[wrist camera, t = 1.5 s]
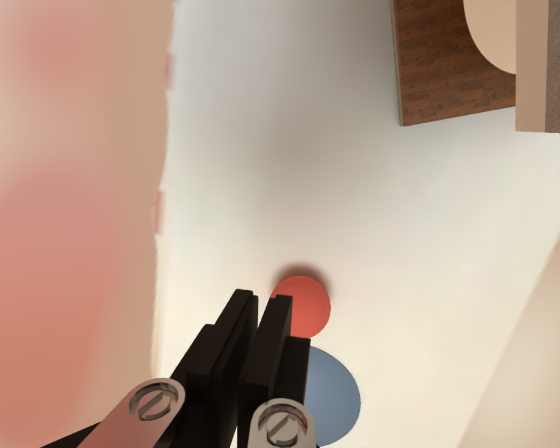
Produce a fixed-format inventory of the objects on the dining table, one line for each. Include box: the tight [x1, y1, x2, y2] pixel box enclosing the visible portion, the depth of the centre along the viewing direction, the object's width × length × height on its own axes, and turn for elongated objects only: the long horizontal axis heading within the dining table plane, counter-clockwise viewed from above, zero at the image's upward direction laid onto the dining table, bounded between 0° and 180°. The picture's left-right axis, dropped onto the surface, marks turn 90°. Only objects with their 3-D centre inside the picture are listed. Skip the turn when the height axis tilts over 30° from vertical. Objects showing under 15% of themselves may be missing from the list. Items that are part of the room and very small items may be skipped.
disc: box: [304, 346, 361, 447], centre depth 36 cm, size 14×14×1 cm
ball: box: [271, 276, 331, 338], centre depth 29 cm, size 6×6×6 cm
